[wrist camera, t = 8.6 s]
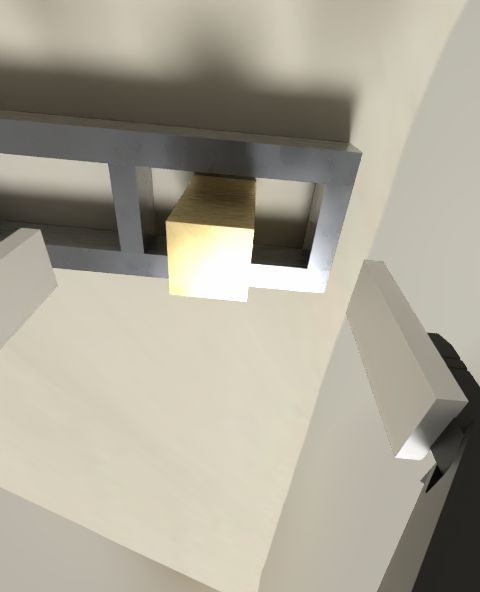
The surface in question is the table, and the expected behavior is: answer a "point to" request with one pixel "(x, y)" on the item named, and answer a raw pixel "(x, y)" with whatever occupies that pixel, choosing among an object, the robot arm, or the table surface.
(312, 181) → the rack frame
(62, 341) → the table surface
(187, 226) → the brushed brass bar
